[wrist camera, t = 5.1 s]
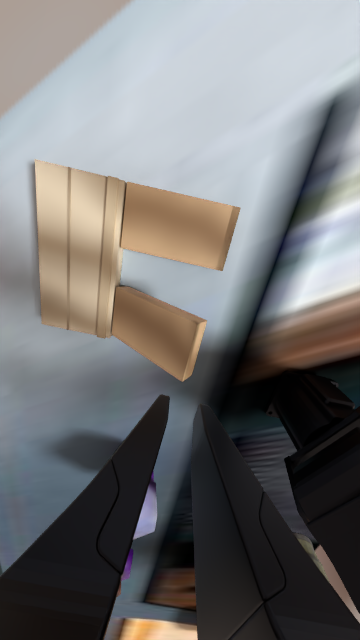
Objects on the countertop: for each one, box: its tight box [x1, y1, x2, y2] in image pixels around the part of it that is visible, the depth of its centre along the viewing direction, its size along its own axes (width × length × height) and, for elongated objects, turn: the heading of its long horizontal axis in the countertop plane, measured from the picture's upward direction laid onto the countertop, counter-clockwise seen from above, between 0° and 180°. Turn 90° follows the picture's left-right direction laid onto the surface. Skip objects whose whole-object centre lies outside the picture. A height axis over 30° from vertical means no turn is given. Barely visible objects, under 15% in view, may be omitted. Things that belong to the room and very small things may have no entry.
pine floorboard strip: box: [35, 159, 127, 338], centre depth 18 cm, size 14×7×2 cm, turn 168°
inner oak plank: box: [112, 287, 207, 382], centre depth 17 cm, size 5×9×1 cm
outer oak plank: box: [121, 182, 240, 271], centre depth 17 cm, size 5×9×1 cm, turn 78°
